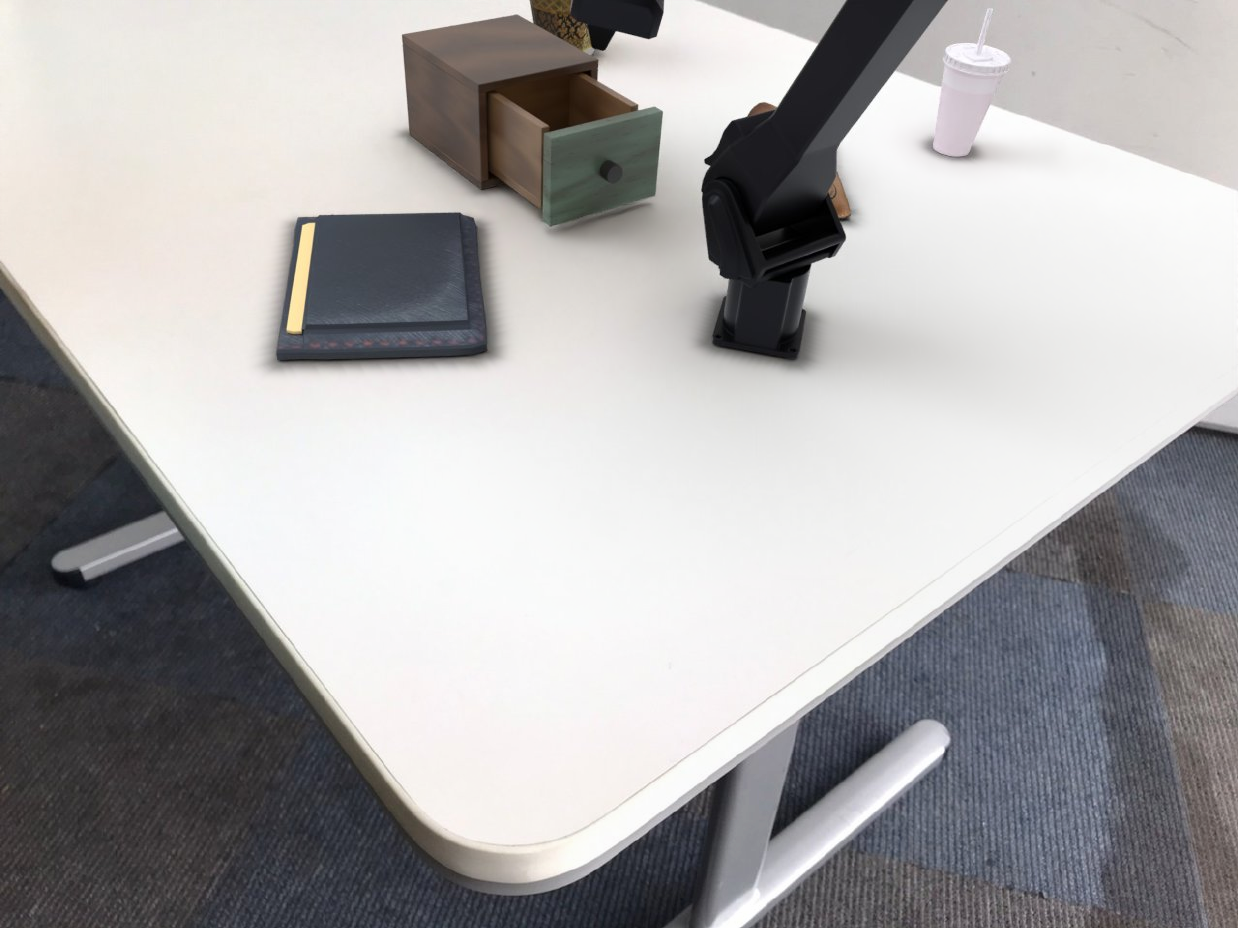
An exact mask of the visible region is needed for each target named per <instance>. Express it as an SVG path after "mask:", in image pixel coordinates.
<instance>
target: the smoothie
mask: <svg viewBox="0 0 1238 928" xmlns="http://www.w3.org/2000/svg"><path fill="white" fill-rule="evenodd" d="M993 13H994V8H992V7H988V8H987V9H986V12H985V16H984V20H983V23H982V26H981V30H980V34H979V37H978V41H977V43H973V42H958V43H953V44H950V45H948V46H947V47H946V48H945V50H944V54H943V56H942V62H943V63H944V68H943V73H942V75H943V76H942V81H941V88H940V95H939V101H938V107H937V116H936V121H935V127H934V134H933V135H934V136H933V143H932V148H933V150H935V151H936V152H937V153H939V154H941V155H944V156H949V157H953V158H954V157H956V158H958V157H959V158H961V157H965V156H968V155H969V153H970V151H971V149H972V147H973V144H974V142H975V140H976V138H977V136H978V133H979V131H980V129H981V126H982V124H983V122H984V119H985V117H986V115H987V113H988V110H989V109H990V106H991V103H992V101H993V99H994V97H995V94H996V92H997V91H998V89H999V87H1000V83H1001V82H1002V78H1003V77H1004V75H1005V74H1007V73H1008V72H1009V70H1010V65H1011V62H1012V59H1011V56H1010V55H1009V54H1007V53H1006V52H1005V51H1003V50H1001V49H999V48H996V47H993V46H990V45H987V44H985V40H986V38H987V34H988V30H989V26H990V24H991V19H992V17H993Z"/></svg>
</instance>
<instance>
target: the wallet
mask: <svg viewBox="0 0 1238 928" xmlns="http://www.w3.org/2000/svg"><path fill="white" fill-rule="evenodd" d="M293 230H294V231H293V241H292V242H293V243H292V251H291V257H290V262H289V263H290V264H289V268H288V269H289V270H288V275H287V283H286V287H285V288H286V289H285V294H284V295H285V296H284V301H283V307H282V313H281V314H282V315H281V319H280V326H279V332H278V339H277V344H276V350H275V355H276V360H277V361H286V360H289V361H290V360H351V359H352V360H353V359H385V358H386V359H389V358H391V359H392V358H420V357H421V358H422V357H450V356H453V357H454V356H469V355H476V354H479V353H482V352H486V351H488V333H487V331H488V328H487V319H486V311H485V310H486V309H485V303H484V295H483V288H482V281H481V272H480V259H479V247H478V227H477V224H476V221H475V218H474V217H472V216H470V215H465V214H464V213H462V212H459V211H458V212H410V213H409V212H407V213H406V212H405V213H363V214H362V213H361V214H360V213H359V214H358V213H357V214H355V213H353V214H319V215H318V216H298V217H297V219H296V223H295V227H294V229H293Z"/></svg>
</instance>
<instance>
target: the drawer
mask: <svg viewBox="0 0 1238 928" xmlns="http://www.w3.org/2000/svg"><path fill="white" fill-rule="evenodd" d="M486 109H487V148H488V170H489V171H490V172H491V173H493V174H494V175H495V176H497V177H498V178H499V179H501V180H502V181H503V182H505V184H506V185H507V186H509V187H510V188H511V189H512V190H514V191H516V192H517V193H518V194H519V195H521V196H522V197H523V198H524V199H526V200H527V201H529V202H530V203H531V204H533V205H534V206H535V207H537V208H538V209H540V210H542V223H544V224H545V225H547V226H548V227H550V228H552V227H555V226H558V225H561V224H564V223H565V224H566V223H568V222H572V221H576V220H579V219H581V218H585V217H588V216H592V215H594V214H599V213H602V212H605V211H608V210H612V209H615V208H619V207H622V206H625V205H629V204H632V203H635V202H638V201H642V200H646V199H649V198H652V197H655V196H656V191H657V181H658V171H659V170H658V169H659V160H660V149H661V138H662V127H663V115H664V111H663V110H662V109H660V108H658V107H656V106H651V107H646V108H643V109H639V104H638V103H636V102H635V101H633V100H631V99H630V98H628V97H626V96H624V95H622V94H621V93H619V92H617V91H616V90H614V89H613V88H610V87H609V86H607V85H605V84H604V83H602V82H600V81H599V80H598V81H597V80H595V79H593V78H592V77H590V76H588V75H586V74H585V73H583V72H578V73H573V74H569V75H564V76H559V77H555V78H550V79H545V80H540V81H536V82H531V83H526V84H522V85H517V86H512V87H508V88H503V89H498V90H493V91H489V92H486Z"/></svg>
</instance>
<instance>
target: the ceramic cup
mask: <svg viewBox="0 0 1238 928" xmlns="http://www.w3.org/2000/svg"><path fill="white" fill-rule="evenodd" d="M571 1H572V0H529V4H530V10H531V17H532V23H534V24H535V25H537V26H539V27H541V28H542V29H544V30H546V31H548V32H550V33H551V34H553V35H555V36H557V37H559V38H560V39H562V40H564V41H566V42H568V43H569V44H571V45H573V46H575V47H576V48H578V49H580V50H582V51H584V52H585V53H587V54H589V55H591V56H593V54H594V53H595V49H593V48H592V47H591V42H590V37H589V32H588V27H587V24H585V23H581V22H577V21H576V20H575V19H573V18H572V17H571V16H570V9H571Z"/></svg>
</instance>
